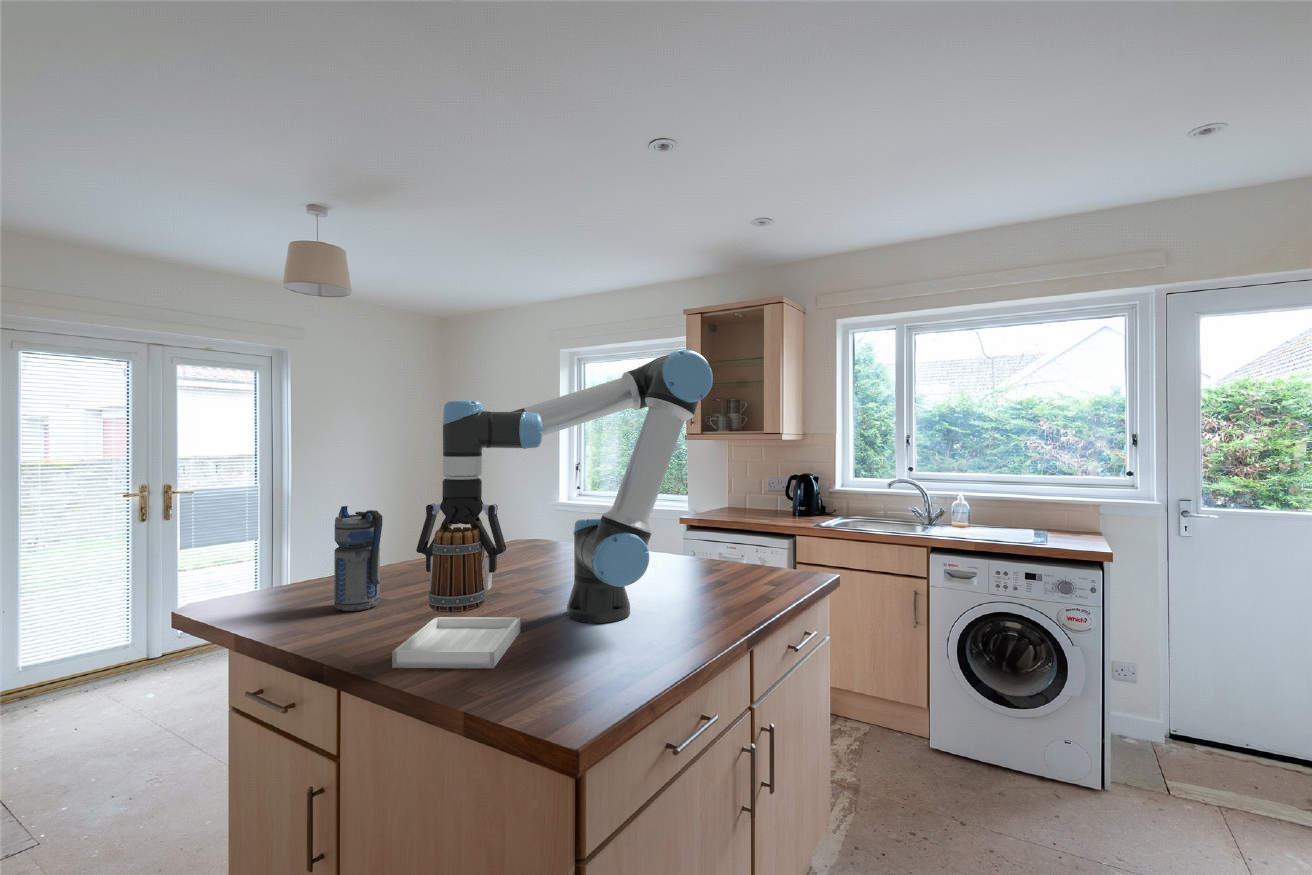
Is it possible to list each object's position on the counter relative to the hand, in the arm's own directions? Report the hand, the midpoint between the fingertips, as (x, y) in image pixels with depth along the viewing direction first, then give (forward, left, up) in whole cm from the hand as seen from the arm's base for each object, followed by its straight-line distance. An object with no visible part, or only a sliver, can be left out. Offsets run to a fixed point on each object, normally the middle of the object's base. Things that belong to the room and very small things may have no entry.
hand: (461, 588), depth 123 cm
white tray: (0, 0, -12) cm, 12 cm away
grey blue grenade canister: (+35, -29, -12) cm, 47 cm away
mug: (-1, 0, -3) cm, 3 cm away
